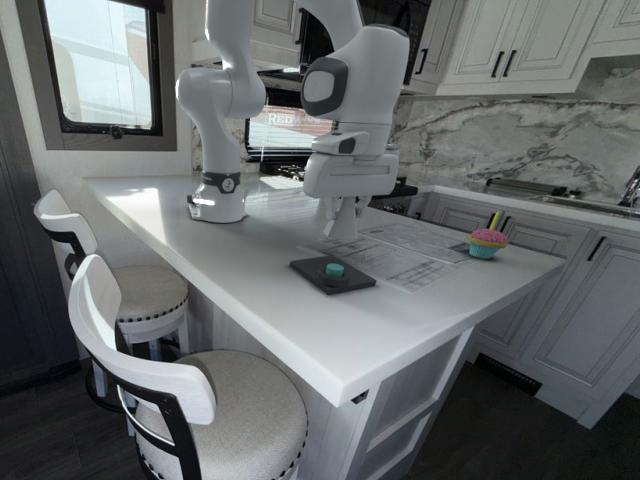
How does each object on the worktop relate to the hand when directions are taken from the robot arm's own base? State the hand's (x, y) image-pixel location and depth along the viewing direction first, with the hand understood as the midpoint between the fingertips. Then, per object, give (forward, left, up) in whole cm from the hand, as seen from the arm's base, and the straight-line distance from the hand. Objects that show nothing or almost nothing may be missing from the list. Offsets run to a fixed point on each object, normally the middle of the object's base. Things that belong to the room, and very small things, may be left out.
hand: (343, 218), depth 62 cm
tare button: (+6, -5, -9) cm, 12 cm away
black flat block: (+2, -2, -12) cm, 12 cm away
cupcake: (+5, +46, -12) cm, 48 cm away
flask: (0, 0, -4) cm, 4 cm away
